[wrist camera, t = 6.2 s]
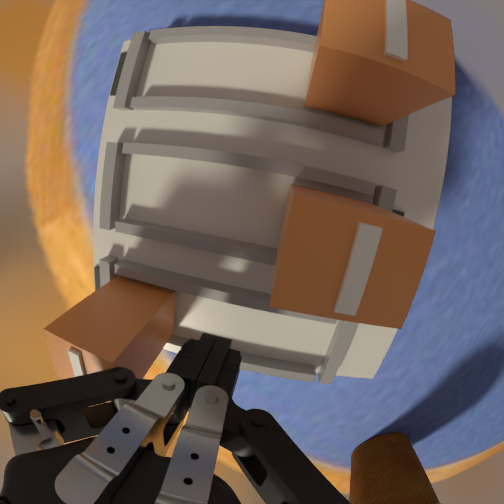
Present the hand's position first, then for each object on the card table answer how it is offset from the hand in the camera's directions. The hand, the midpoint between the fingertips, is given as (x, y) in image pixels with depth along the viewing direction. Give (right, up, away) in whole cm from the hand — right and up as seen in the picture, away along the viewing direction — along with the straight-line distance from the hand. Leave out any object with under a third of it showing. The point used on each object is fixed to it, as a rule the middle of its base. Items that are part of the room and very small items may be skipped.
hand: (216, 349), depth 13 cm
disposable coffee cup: (+15, -15, +7) cm, 23 cm away
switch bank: (+2, +8, +2) cm, 8 cm away
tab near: (+7, +13, -2) cm, 15 cm away
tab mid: (+5, +6, 0) cm, 8 cm away
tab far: (-5, +2, +3) cm, 6 cm away
